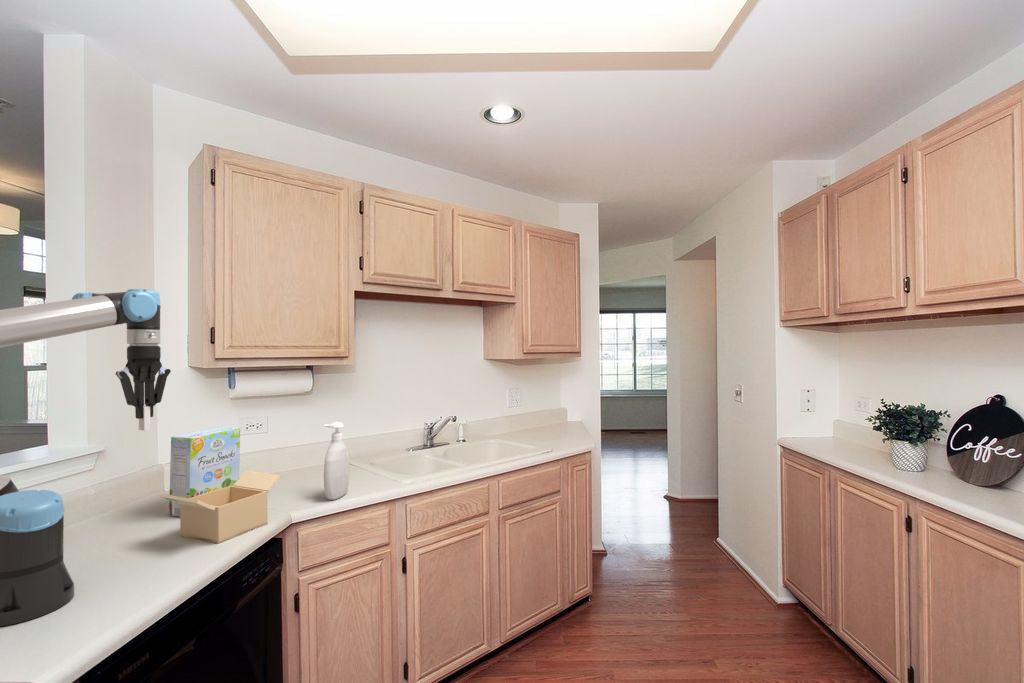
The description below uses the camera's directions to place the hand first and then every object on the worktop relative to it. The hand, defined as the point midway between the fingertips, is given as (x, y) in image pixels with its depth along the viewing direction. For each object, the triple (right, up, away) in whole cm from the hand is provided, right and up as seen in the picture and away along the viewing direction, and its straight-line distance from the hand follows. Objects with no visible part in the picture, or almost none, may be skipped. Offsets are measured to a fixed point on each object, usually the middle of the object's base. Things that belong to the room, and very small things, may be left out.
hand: (144, 429), depth 136 cm
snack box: (-2, -32, +30) cm, 44 cm away
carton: (+17, -32, +10) cm, 37 cm away
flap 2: (+21, -20, +20) cm, 35 cm away
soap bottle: (+39, -32, +41) cm, 64 cm away
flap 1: (+13, -20, 0) cm, 23 cm away
